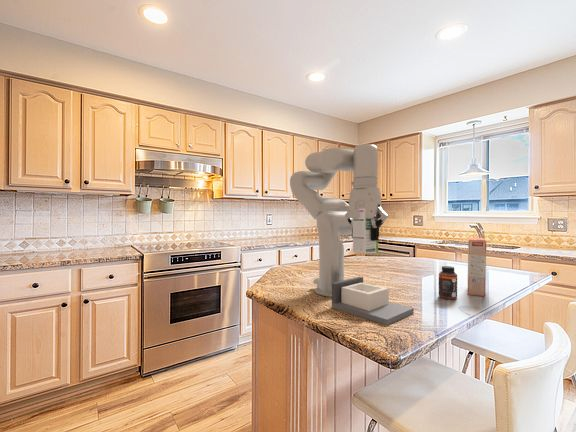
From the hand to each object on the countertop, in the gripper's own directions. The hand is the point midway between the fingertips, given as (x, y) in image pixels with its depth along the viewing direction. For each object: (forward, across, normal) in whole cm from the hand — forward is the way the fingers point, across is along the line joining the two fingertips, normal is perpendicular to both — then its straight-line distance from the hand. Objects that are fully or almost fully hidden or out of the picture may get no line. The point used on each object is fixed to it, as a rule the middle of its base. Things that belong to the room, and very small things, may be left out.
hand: (365, 239), depth 96 cm
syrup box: (+5, 0, 0) cm, 5 cm away
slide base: (+22, +2, 0) cm, 23 cm away
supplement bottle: (+23, +12, +33) cm, 42 cm away
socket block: (+21, 0, 0) cm, 21 cm away
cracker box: (+23, +16, +50) cm, 57 cm away
